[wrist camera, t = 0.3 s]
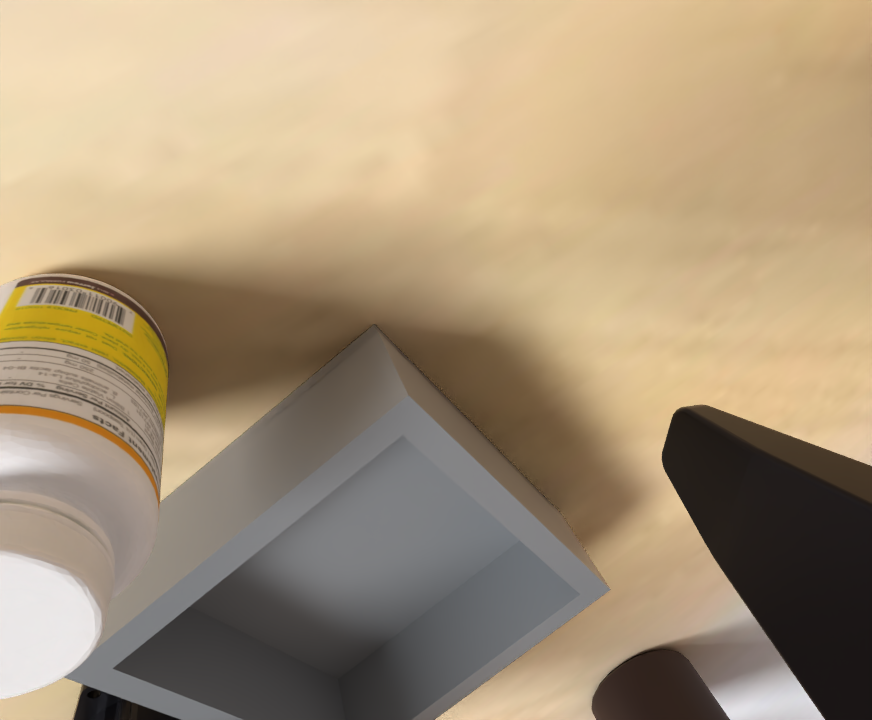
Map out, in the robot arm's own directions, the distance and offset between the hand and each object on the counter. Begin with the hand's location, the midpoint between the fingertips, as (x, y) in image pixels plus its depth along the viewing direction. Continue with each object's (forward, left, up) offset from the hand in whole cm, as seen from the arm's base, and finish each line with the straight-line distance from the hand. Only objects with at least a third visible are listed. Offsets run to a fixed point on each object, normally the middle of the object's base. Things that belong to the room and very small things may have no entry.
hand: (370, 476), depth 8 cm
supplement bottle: (-7, +4, -14) cm, 16 cm away
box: (-13, -7, -13) cm, 20 cm away
